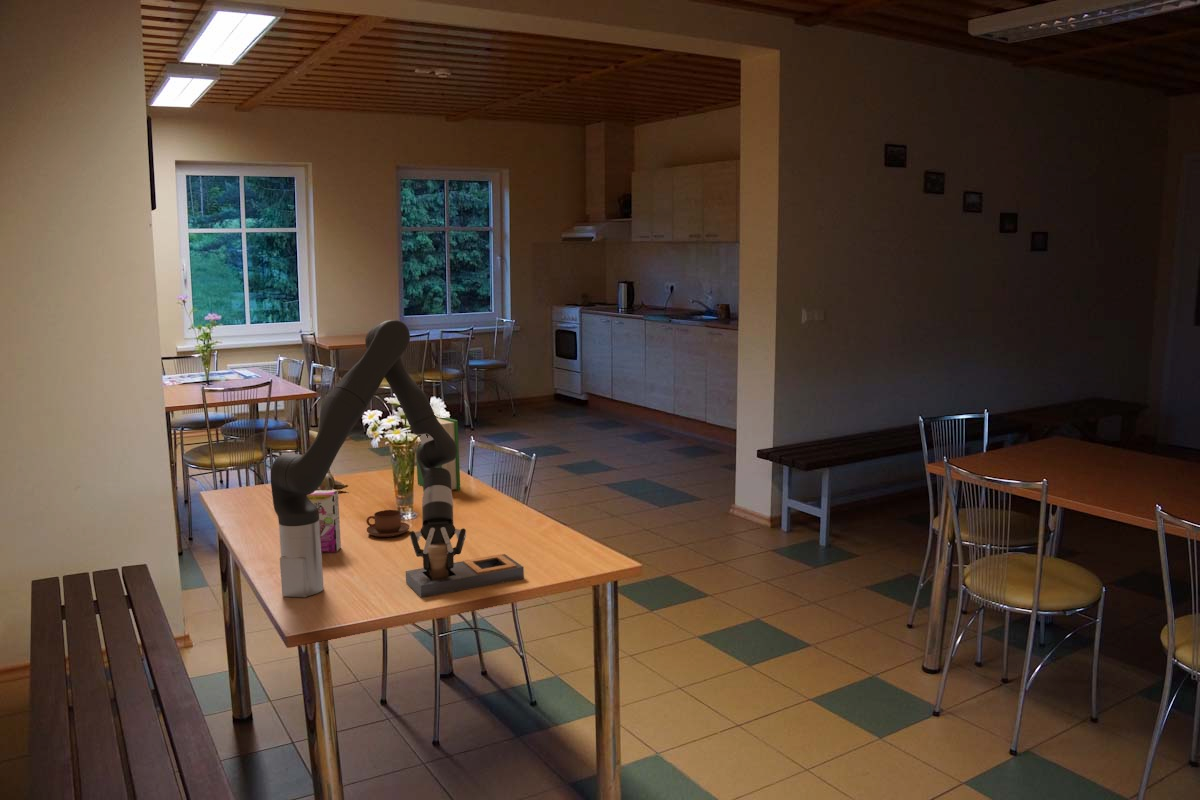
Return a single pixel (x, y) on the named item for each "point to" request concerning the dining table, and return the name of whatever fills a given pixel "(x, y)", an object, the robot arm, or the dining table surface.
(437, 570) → the walnut peg
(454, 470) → the hardback book
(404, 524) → the cup and saucer
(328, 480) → the ceramic sculpture
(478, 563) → the grey peg board
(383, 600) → the dining table surface
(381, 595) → the dining table surface
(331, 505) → the candy bar box
